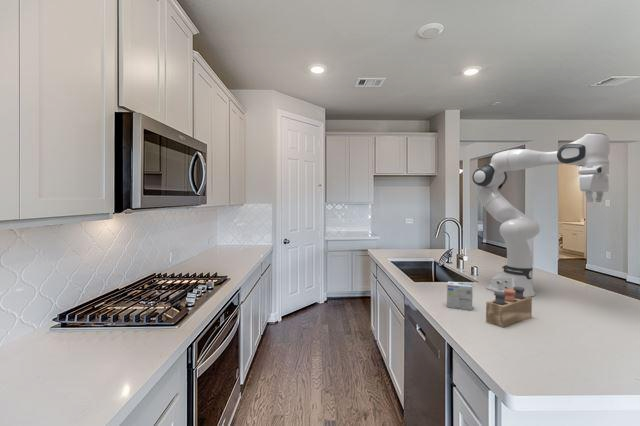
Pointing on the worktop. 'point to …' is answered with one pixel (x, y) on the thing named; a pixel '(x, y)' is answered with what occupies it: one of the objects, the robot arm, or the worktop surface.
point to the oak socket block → (508, 311)
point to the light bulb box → (459, 295)
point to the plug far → (518, 292)
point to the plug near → (500, 298)
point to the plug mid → (509, 295)
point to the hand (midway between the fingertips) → (594, 202)
